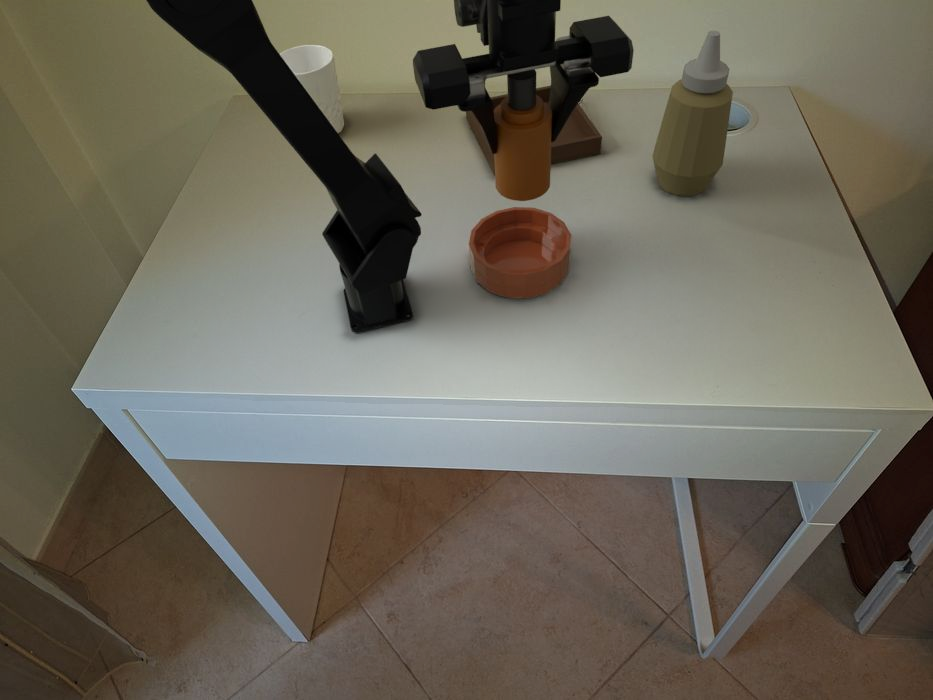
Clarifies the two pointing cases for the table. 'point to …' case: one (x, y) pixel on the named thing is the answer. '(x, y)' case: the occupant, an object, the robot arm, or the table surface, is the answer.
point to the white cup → (318, 79)
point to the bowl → (520, 252)
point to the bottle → (523, 140)
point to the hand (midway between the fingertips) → (522, 145)
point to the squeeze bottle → (695, 124)
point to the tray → (570, 143)
